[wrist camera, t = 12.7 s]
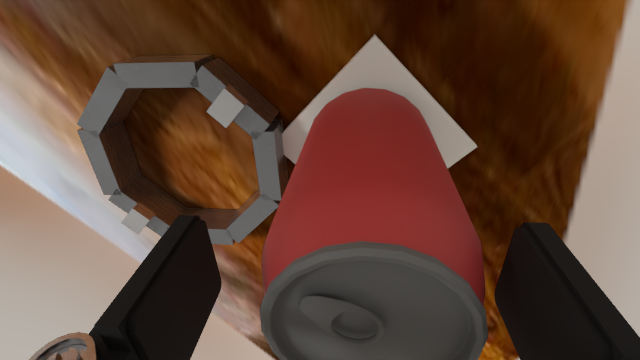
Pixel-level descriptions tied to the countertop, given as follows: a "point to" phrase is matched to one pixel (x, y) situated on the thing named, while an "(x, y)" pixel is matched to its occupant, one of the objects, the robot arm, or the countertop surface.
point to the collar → (228, 105)
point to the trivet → (386, 73)
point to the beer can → (372, 243)
